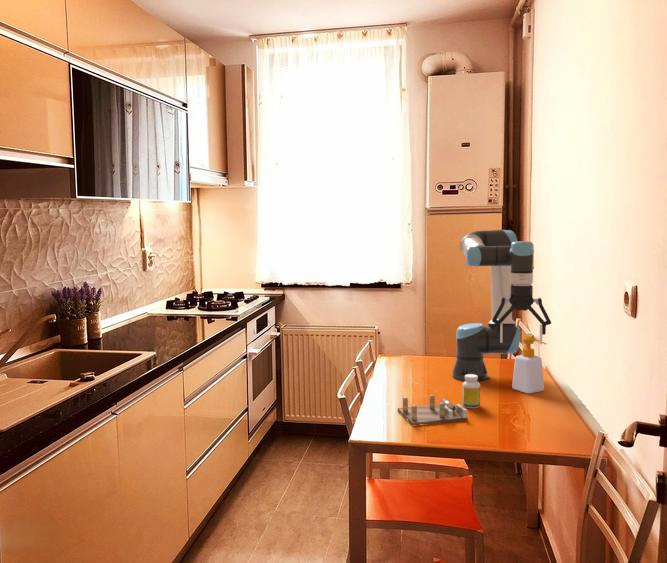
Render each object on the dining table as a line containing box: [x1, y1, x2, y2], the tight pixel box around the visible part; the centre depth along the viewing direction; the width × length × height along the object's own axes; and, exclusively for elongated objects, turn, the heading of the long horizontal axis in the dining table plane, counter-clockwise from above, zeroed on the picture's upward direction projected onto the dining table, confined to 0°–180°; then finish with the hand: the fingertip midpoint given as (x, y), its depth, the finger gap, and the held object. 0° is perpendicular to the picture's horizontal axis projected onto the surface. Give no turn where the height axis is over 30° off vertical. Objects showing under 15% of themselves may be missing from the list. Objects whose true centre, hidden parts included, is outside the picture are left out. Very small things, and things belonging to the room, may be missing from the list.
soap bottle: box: [511, 335, 547, 395], centre depth 228 cm, size 10×14×22 cm
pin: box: [439, 398, 456, 412], centre depth 205 cm, size 7×3×3 cm, turn 12°
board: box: [397, 394, 469, 426], centre depth 203 cm, size 16×20×6 cm
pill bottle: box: [461, 374, 481, 409], centre depth 212 cm, size 6×6×12 cm
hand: (520, 342), depth 207 cm, fingers open, 13 cm apart
